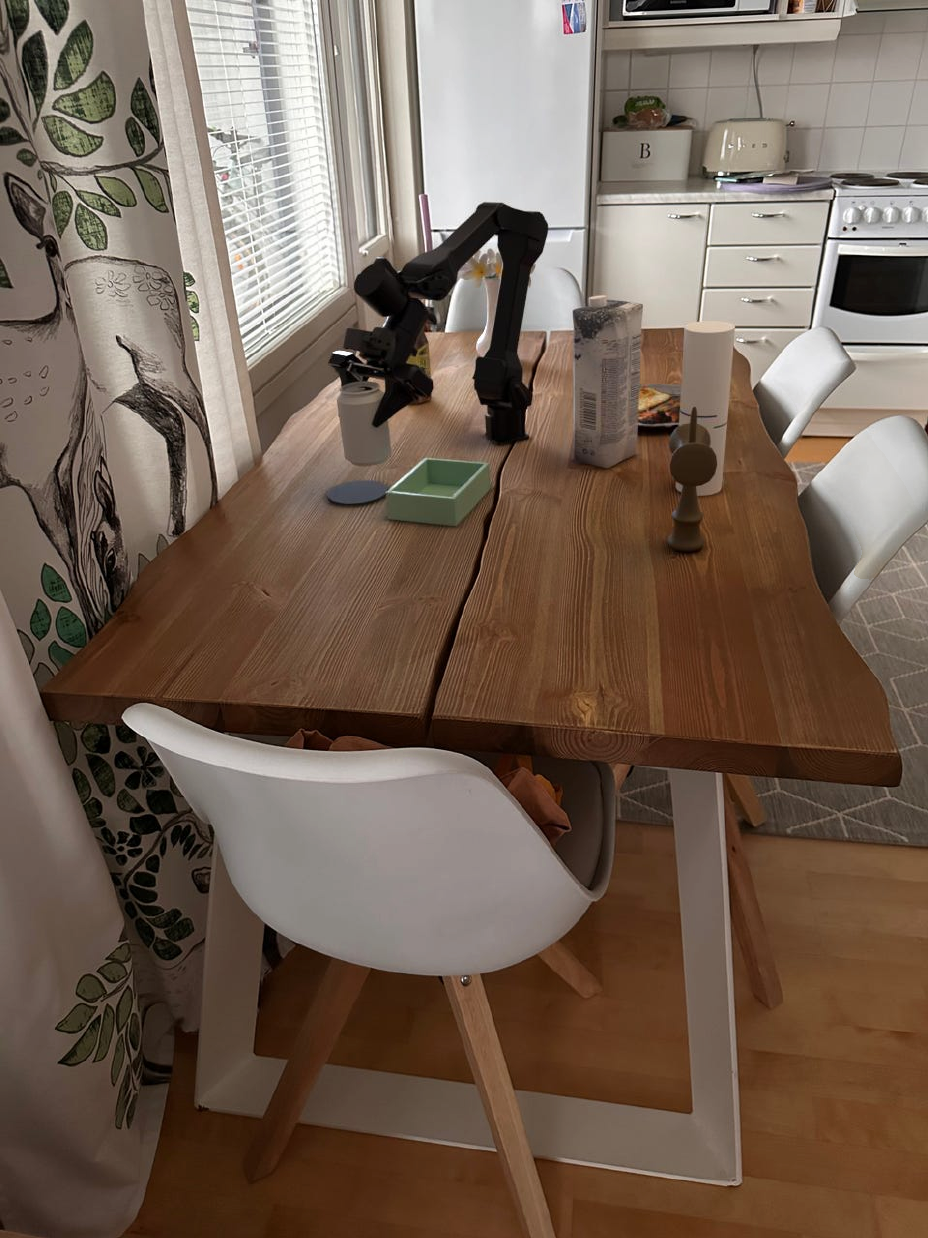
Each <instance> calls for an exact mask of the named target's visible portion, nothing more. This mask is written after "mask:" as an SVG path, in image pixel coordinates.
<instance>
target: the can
mask: <svg viewBox="0 0 928 1238" xmlns="http://www.w3.org/2000/svg"><path fill="white" fill-rule="evenodd" d="M380 388H381V385H380V384H379V383H378V382H375V381H370V380H368V381H363V382H354V383H350V384H346V385H344V386H342V387H341V386H340V388H339V395H338V396H337V398H336V405H337V412H338V413H339V416H338V418H339V425H340V426H339V427H340V432H341V441H342V447H343V454H344V458H345V460H346V461H348V462H349V463H350V464H351V465H353V466H357V467H374V466H378V465H381V464H383V463H385V462H386V461H387V460H388V458H389V457H390V456H391V455H392V453H393V451H392V443H391V433H390V427H389V419H388V420H387V421H386V422H384V423H383V424H382V425H381V426H379V427H378V428H376V427H374V426H373V425H372V422H373V419H374V416H375V414H376V411H377V409H378V407H379V404H380V402H381V400H382V397H383V395H384V393H385V391H383V390H382V389H380Z"/></svg>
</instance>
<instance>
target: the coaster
mask: <svg viewBox="0 0 928 1238" xmlns="http://www.w3.org/2000/svg"><path fill="white" fill-rule="evenodd" d="M388 490H389V489H388V487H387V485H386V484H384V483H382V482H379V481H375V480H353V481H352V480H351V481H347V482H343V483H340V484H337V485H336V486H333V487H332V488H330V489H329V490H328V492H327V494H326V495H327V496H326V497H327V500H328V501H329V502H330V503H332V504H335V505H339V506H346V507H355V506H356V507H357V506H364V505H369V504H373V503H376V502H378V501H380V500H382V499H383V498H386V492H387V491H388Z"/></svg>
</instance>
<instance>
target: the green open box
mask: <svg viewBox="0 0 928 1238" xmlns="http://www.w3.org/2000/svg"><path fill="white" fill-rule="evenodd" d="M490 465H491V464H490V462H484V461H483V462H482V461H473V460H472V461H470V460H457V459H446V458H434V457H425V458H423V459H422V460H421V461H420V462H418V463H417V464H416V465H415V466H414V467H413V468H412V469H410V470H409V471H408V472H407V473H406V474H405V475H403V476H402V477H401V478H400V479H399V480H398V481H397V482H396V483H395V484H393V485H392V486H391V487H390V488H389V489H388V491H387V492H386V496H385V500H386V510H387V519H388V520H392V521H401V522H411V523H422V524H430V525H440V526H446V527H447V526H448V527H449V526H450V527H457V526H458V525H459V524H460V523H461V522H462V521H463V520H464V518H465V517H466V516H467V515H468V514H469V513H470V512H471V511H472V510H473V509H474V508H475V507H476V505H478V503H479V502H480V501H481V500H482V499H483V498H484V497H485V496H486V494H488V493H489V491H490V490H491V489H492V487H491V485H492V484H491V466H490Z"/></svg>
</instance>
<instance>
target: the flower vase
mask: <svg viewBox="0 0 928 1238" xmlns="http://www.w3.org/2000/svg"><path fill="white" fill-rule="evenodd" d="M481 253H482V251H481V249H480V250H479V251H478V252H477V253H476V254H475V255H474V256H473V257H472V258H471V259H470V260H469V261H468V262H467V263H466V264H465V265H464V266H463V267H462V268H461V269H460V270H459V272H462V274H461V275H460V278H461V280H464V281H469V280H472V279H474V280H473V284H474V287H475V288H476V289H479V288H480V287H481V286H482V283H483V282H484V285H485V290H486V303H487V307H486V308H487V309H486V310H487V315H486V316H487V317H486V325H485V328H484V330H483V333H482V334H481V335H479V336H480V337H479V338H478V339H477V341H476V346H475V349H476V352H477V354H478V356H480V357H483V356H484V355H485V354H486V352H487V351H488V350H489V348H490V343H491V337H492V330H493V324H494V318H495V311H496V305H497V299H498V292H499V286H500V280H501V273H502V267H503V262H502V259H501V256H500V253H499V251H497V252H496V253H495V251H494V250H493V249H492V247H491V248H488V249H487V251H486V253H482V255H481ZM536 265H537V264H536V263H534V265H533V266H532V268H531V272H530V275H532V274H533V273H534V271H535V269H536ZM531 286H532V278H531V277H530V278H529V284H528V289H530V288H531Z"/></svg>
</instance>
